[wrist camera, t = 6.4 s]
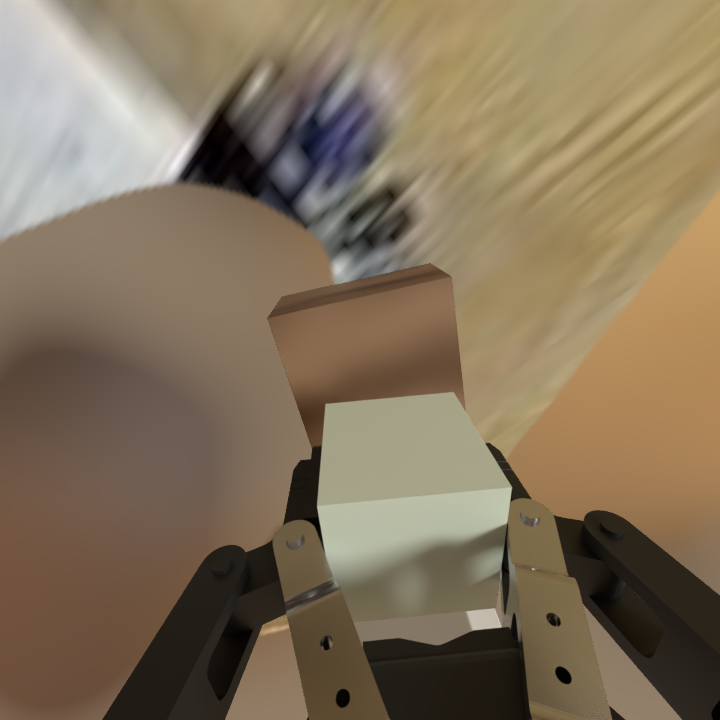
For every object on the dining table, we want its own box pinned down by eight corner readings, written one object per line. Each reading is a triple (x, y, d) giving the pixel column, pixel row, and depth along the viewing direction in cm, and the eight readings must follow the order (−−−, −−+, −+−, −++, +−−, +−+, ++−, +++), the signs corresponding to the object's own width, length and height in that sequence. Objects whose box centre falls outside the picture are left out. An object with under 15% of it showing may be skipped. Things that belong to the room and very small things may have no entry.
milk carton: (386, 534, 32) (439, 916, 15) (345, 486, 30) (349, 882, 12) (454, 501, 31) (599, 878, 14) (417, 448, 28) (537, 830, 11)
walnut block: (282, 296, 23) (267, 318, 18) (429, 262, 23) (451, 276, 18) (320, 418, 27) (316, 461, 22) (445, 392, 27) (467, 430, 22)
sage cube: (325, 403, 13) (317, 506, 9) (453, 392, 13) (512, 487, 9) (338, 500, 15) (337, 623, 11) (449, 489, 15) (495, 608, 11)
